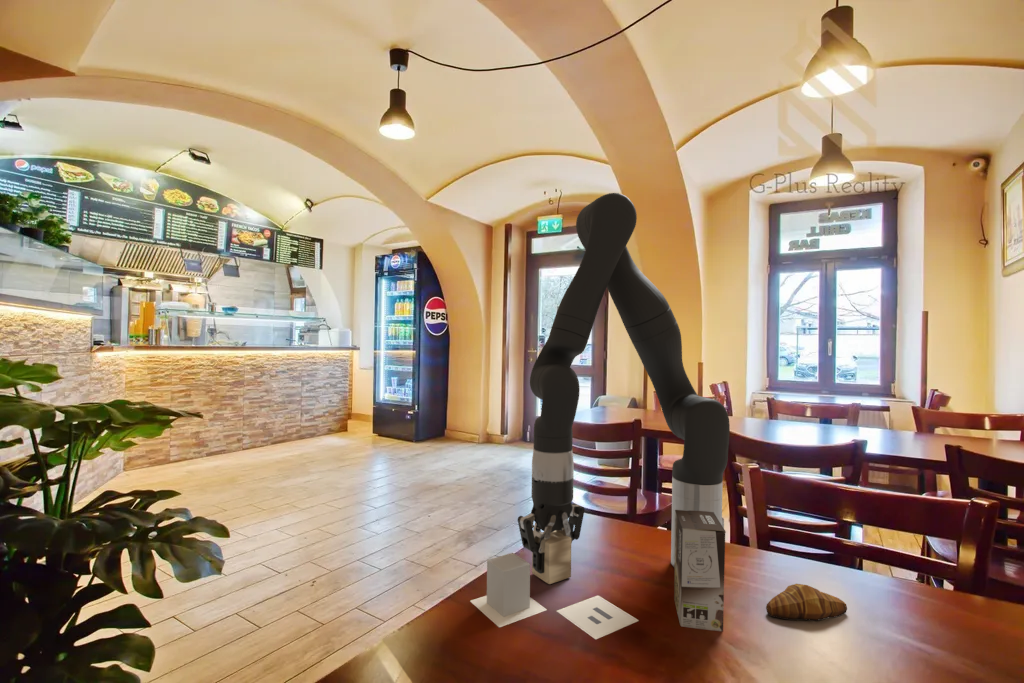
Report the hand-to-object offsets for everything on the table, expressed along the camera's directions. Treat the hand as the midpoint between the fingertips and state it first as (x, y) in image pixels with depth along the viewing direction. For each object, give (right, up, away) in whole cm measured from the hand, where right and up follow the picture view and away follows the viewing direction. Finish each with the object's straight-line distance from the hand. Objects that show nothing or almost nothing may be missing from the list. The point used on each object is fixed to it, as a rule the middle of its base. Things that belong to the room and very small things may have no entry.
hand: (551, 567), depth 92 cm
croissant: (+41, -4, -9) cm, 42 cm away
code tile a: (+6, -3, -13) cm, 14 cm away
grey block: (-8, -2, -10) cm, 13 cm away
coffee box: (+22, -3, -12) cm, 25 cm away
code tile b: (-8, -3, -10) cm, 13 cm away
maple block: (0, -1, 0) cm, 1 cm away
